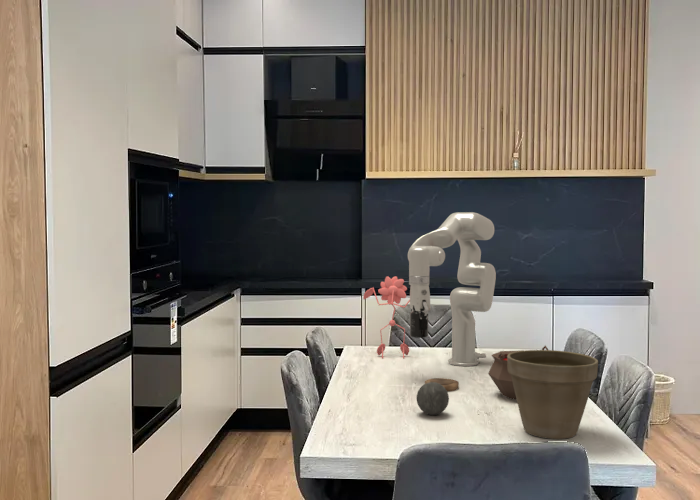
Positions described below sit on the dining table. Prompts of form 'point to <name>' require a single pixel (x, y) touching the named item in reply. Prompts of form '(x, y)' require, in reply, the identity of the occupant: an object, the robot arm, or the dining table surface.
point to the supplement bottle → (417, 325)
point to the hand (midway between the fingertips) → (419, 327)
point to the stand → (445, 383)
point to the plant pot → (551, 390)
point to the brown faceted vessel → (503, 374)
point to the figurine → (391, 293)
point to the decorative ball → (432, 398)
